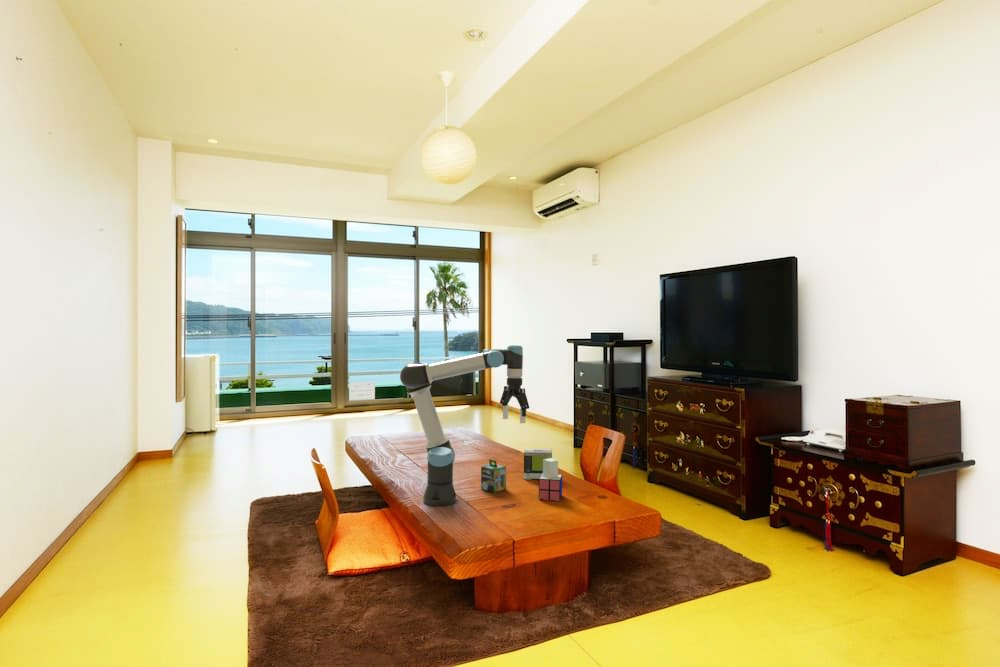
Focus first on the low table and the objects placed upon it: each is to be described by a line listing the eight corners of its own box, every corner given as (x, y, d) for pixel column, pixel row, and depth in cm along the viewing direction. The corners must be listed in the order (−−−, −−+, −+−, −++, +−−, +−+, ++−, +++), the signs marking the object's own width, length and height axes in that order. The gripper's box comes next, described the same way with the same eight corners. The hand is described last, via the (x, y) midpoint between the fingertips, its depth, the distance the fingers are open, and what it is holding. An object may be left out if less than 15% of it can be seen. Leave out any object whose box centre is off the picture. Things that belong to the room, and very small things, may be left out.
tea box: (551, 475, 296) (552, 448, 296) (551, 481, 286) (552, 452, 286) (524, 474, 297) (524, 447, 297) (523, 479, 287) (523, 451, 287)
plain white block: (549, 478, 254) (550, 461, 254) (542, 476, 258) (543, 459, 258) (557, 477, 257) (558, 460, 257) (550, 474, 261) (550, 458, 261)
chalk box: (506, 489, 270) (507, 459, 269) (493, 493, 263) (494, 462, 263) (493, 485, 276) (493, 456, 276) (480, 489, 269) (480, 459, 269)
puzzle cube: (559, 501, 252) (560, 480, 252) (538, 500, 254) (538, 478, 254) (562, 495, 262) (562, 474, 262) (541, 493, 264) (541, 473, 264)
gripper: (537, 379, 257) (536, 424, 257) (505, 374, 277) (504, 416, 277) (524, 379, 252) (523, 425, 252) (493, 375, 272) (492, 417, 273)
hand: (513, 421), depth 265 cm, fingers open, 13 cm apart
